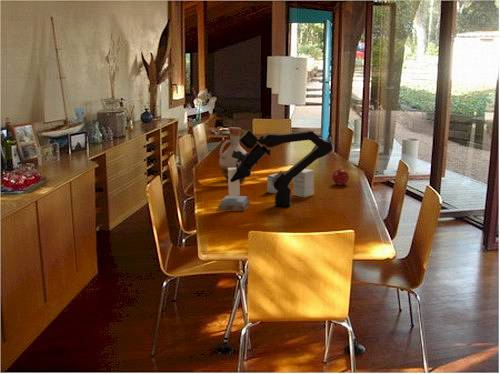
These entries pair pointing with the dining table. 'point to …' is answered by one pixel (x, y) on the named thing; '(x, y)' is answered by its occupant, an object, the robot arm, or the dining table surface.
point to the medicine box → (271, 184)
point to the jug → (230, 152)
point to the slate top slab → (234, 200)
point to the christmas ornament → (340, 176)
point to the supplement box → (304, 183)
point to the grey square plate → (234, 207)
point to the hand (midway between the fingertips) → (230, 180)
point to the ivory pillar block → (233, 183)
